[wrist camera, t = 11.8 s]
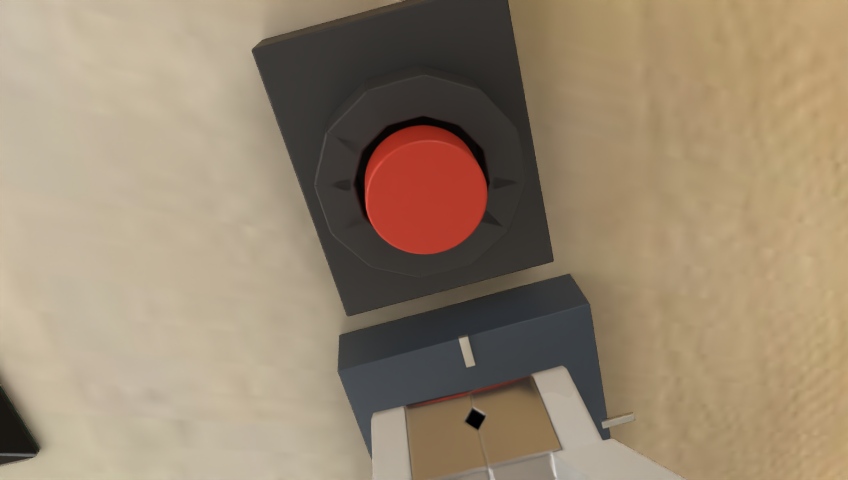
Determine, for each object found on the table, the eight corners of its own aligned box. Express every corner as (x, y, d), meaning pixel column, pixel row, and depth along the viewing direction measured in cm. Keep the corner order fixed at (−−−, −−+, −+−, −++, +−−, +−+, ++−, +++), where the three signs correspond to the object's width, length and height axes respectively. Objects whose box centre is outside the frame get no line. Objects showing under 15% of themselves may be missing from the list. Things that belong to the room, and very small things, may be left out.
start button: (350, 142, 19) (349, 158, 17) (464, 110, 19) (474, 125, 17) (382, 244, 21) (384, 268, 19) (487, 215, 20) (498, 238, 19)
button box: (261, 40, 21) (240, 58, 17) (490, -24, 21) (518, -18, 17) (347, 288, 25) (346, 344, 22) (538, 237, 25) (569, 285, 21)
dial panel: (312, 339, 26) (308, 378, 24) (595, 264, 26) (619, 296, 23) (390, 534, 31) (392, 582, 29) (625, 472, 31) (647, 516, 29)
